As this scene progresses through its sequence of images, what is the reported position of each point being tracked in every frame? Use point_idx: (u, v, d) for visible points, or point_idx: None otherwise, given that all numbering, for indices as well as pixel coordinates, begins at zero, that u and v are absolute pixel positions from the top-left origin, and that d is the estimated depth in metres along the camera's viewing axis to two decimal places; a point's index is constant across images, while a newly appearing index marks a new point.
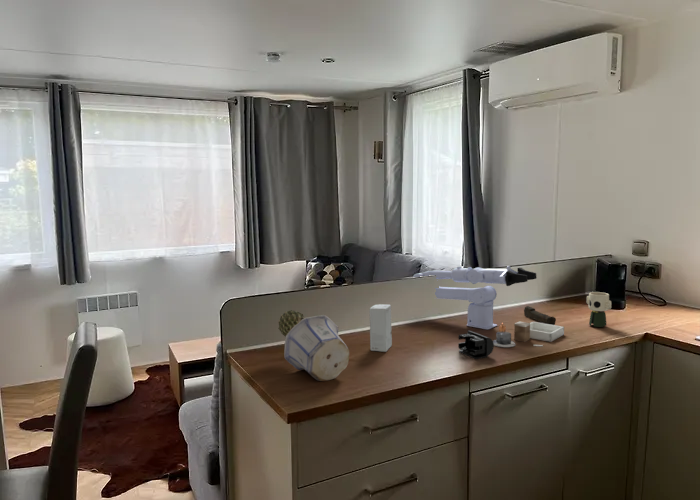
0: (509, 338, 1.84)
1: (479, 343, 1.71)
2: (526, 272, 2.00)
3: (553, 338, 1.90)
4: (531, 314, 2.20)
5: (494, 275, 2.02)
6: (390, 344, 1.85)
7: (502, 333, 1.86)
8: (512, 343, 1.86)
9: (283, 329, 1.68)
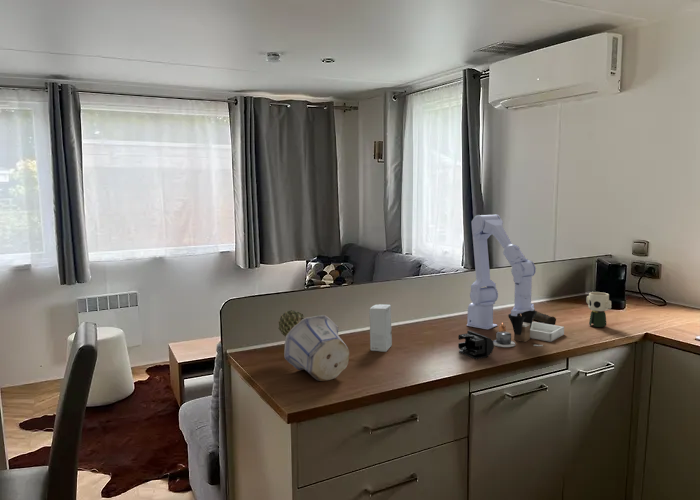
0: (509, 338, 1.84)
1: (479, 343, 1.71)
2: (530, 320, 1.93)
3: (553, 338, 1.90)
4: None
5: (521, 297, 1.87)
6: (390, 344, 1.85)
7: (502, 333, 1.86)
8: (512, 343, 1.86)
9: (283, 329, 1.68)
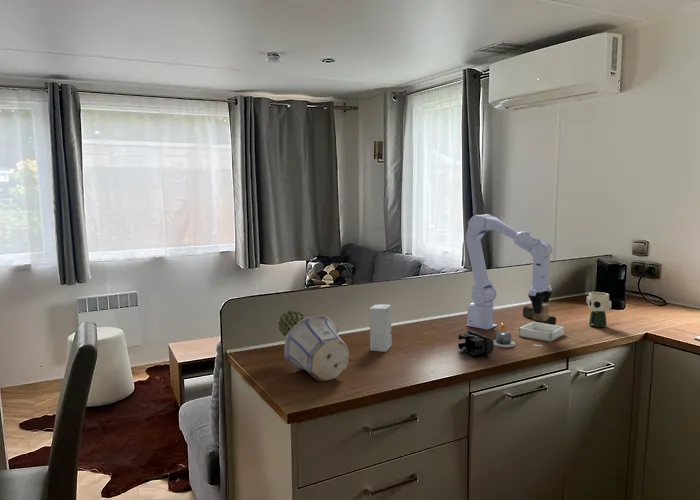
0: (509, 338, 1.84)
1: (479, 343, 1.71)
2: (545, 301, 1.95)
3: (553, 338, 1.90)
4: (531, 314, 2.20)
5: (539, 277, 1.91)
6: (390, 344, 1.85)
7: (502, 333, 1.86)
8: (512, 343, 1.86)
9: (283, 329, 1.68)
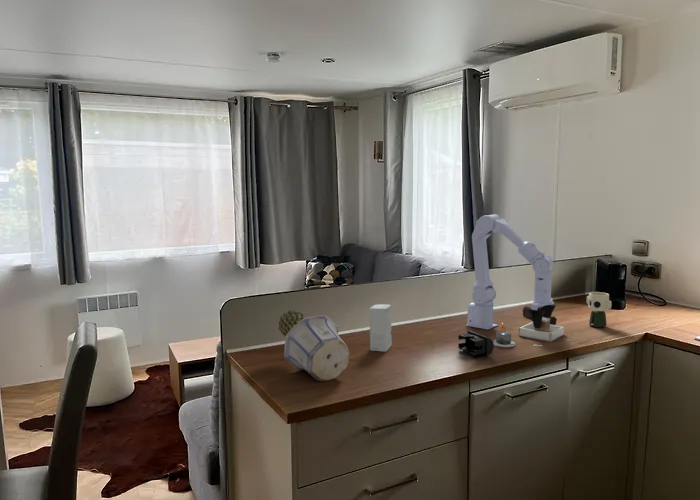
0: (509, 338, 1.84)
1: (479, 343, 1.71)
2: (549, 314, 1.98)
3: (553, 338, 1.90)
4: None
5: (541, 291, 1.92)
6: (390, 344, 1.85)
7: (502, 333, 1.86)
8: (512, 343, 1.86)
9: (283, 329, 1.68)
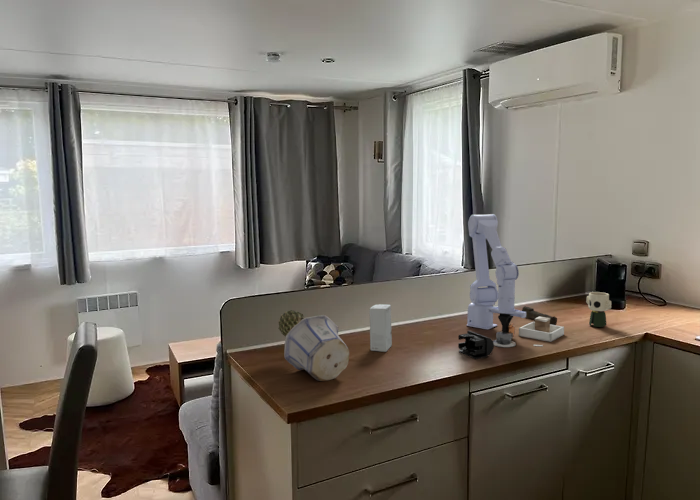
0: (507, 338, 1.84)
1: (479, 343, 1.71)
2: None
3: (553, 338, 1.90)
4: (531, 314, 2.20)
5: None
6: (390, 344, 1.85)
7: (501, 333, 1.86)
8: (512, 343, 1.86)
9: (283, 329, 1.68)
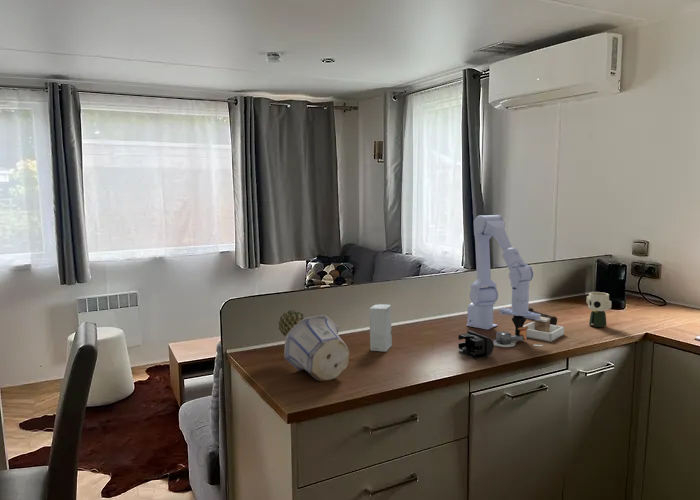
0: (502, 338, 1.84)
1: (479, 343, 1.71)
2: None
3: (553, 338, 1.90)
4: None
5: None
6: (390, 344, 1.85)
7: (501, 333, 1.86)
8: (512, 343, 1.86)
9: (283, 329, 1.68)
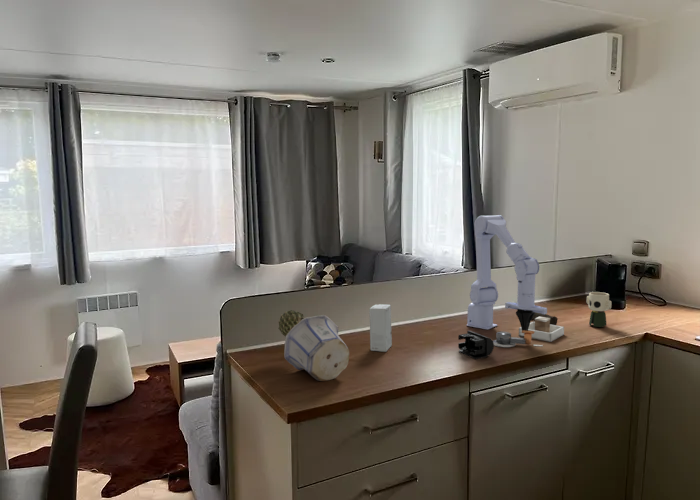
0: (498, 338, 1.85)
1: (479, 343, 1.71)
2: None
3: (553, 338, 1.90)
4: None
5: None
6: (390, 344, 1.85)
7: (501, 333, 1.87)
8: (512, 343, 1.86)
9: (283, 329, 1.68)
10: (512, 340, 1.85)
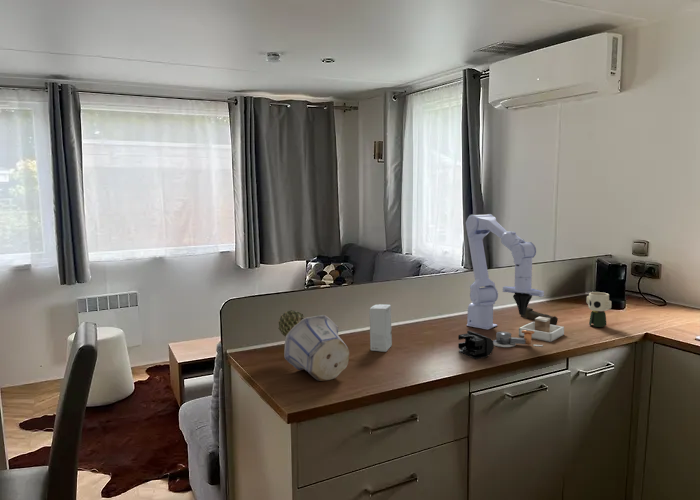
0: (498, 338, 1.85)
1: (479, 343, 1.71)
2: None
3: (553, 338, 1.90)
4: (530, 314, 2.20)
5: None
6: (390, 344, 1.85)
7: (501, 333, 1.87)
8: (512, 343, 1.86)
9: (283, 329, 1.68)
10: (512, 340, 1.85)
